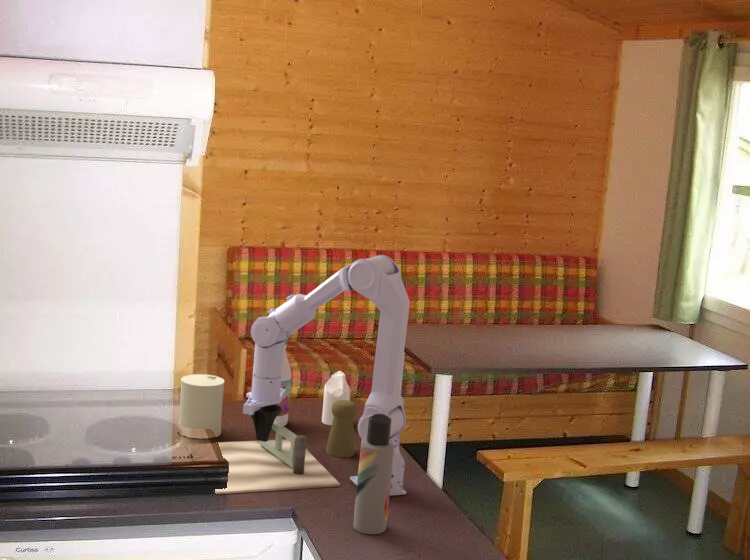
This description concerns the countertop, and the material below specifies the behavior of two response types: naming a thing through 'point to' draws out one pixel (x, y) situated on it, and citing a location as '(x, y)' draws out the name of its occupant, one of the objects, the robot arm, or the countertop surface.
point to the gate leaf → (277, 447)
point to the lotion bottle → (374, 477)
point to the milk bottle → (286, 384)
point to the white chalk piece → (334, 395)
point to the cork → (342, 429)
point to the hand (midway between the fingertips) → (262, 440)
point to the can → (201, 402)
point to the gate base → (271, 468)
